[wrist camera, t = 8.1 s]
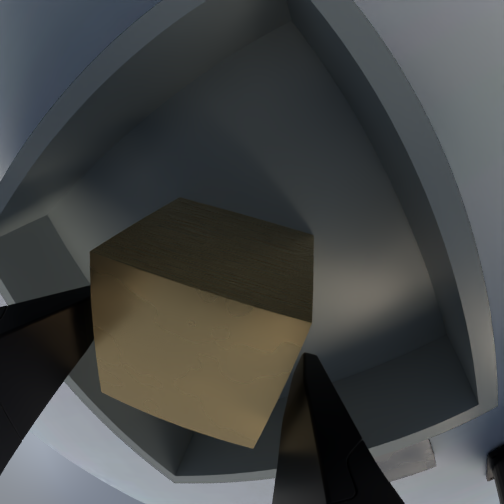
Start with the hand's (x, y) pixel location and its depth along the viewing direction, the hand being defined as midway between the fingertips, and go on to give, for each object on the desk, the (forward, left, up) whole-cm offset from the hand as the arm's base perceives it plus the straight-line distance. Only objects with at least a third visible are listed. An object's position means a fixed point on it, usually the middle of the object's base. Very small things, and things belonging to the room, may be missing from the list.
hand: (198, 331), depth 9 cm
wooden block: (0, 0, -4) cm, 4 cm away
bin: (0, 0, -4) cm, 4 cm away
